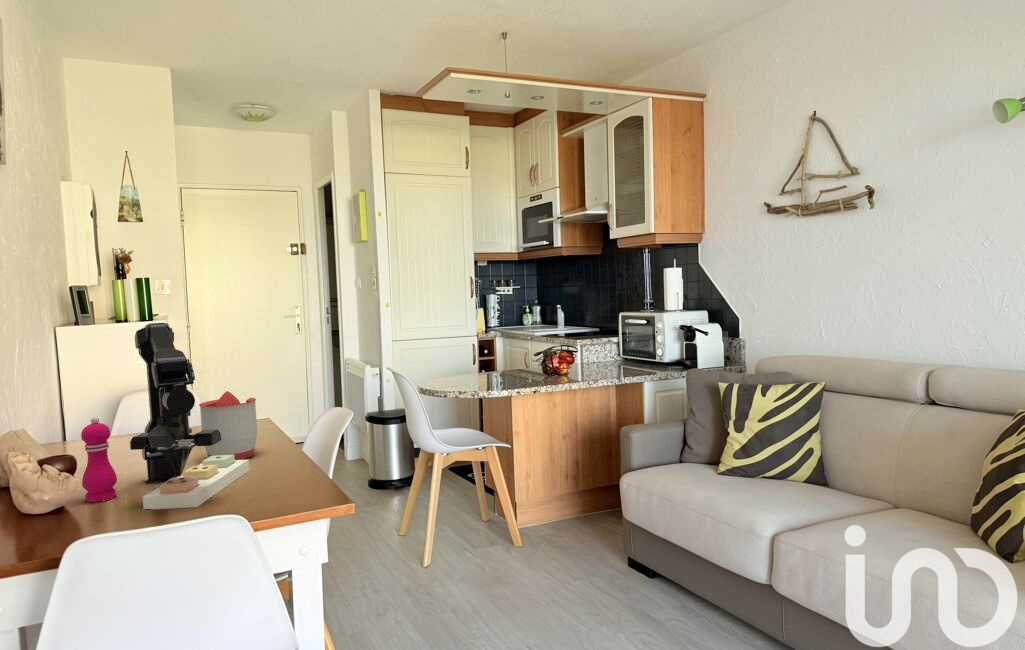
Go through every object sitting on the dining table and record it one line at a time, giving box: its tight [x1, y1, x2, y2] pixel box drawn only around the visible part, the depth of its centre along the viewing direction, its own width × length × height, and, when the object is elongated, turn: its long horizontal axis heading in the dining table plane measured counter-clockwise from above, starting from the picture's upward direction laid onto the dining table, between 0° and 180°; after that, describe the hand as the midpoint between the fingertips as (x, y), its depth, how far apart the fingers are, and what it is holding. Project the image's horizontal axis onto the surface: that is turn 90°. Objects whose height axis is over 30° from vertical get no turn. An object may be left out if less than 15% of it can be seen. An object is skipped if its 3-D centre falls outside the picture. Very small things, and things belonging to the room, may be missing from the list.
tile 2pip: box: [182, 465, 218, 480], centre depth 171 cm, size 6×6×2 cm
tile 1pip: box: [201, 455, 235, 468], centre depth 182 cm, size 6×6×2 cm
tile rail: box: [142, 459, 250, 510], centre depth 171 cm, size 12×32×3 cm, turn 1°
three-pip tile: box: [159, 476, 199, 494], centre depth 160 cm, size 6×6×2 cm
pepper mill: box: [80, 416, 118, 503], centre depth 165 cm, size 7×7×20 cm
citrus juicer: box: [198, 390, 258, 460], centre depth 204 cm, size 16×17×20 cm
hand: (178, 476), depth 160 cm, fingers closed
